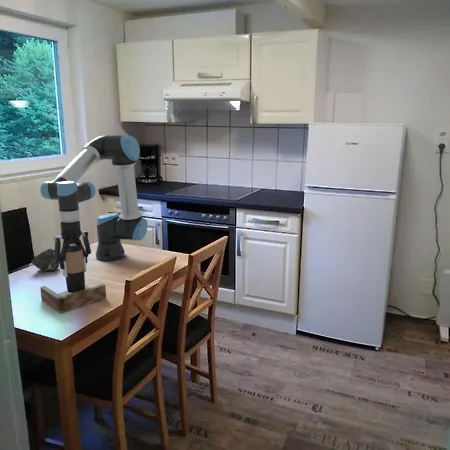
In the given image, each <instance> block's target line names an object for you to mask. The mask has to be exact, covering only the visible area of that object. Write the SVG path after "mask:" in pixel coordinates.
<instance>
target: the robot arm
mask: <svg viewBox="0 0 450 450" xmlns="http://www.w3.org/2000/svg"><path fill="white" fill-rule="evenodd" d="M140 151H141V148H140V145H139V141H137V139H136V138H135V137H134V136H133V135H122V134H121V135H120V134H119V135H117V134H116V135H115V134H114V135H108V134H106V135H105V134H104V135H101V136H98V137H96V138H94V139H93V140H91V141H89V142H88V143H86V144H85V145H84V146H83V147H82V149H81V152H80V153H79V154H78V155H77V156H76V157H75V158H74V159H73V160H71V162H70V163H69V164H68V165H67V166H66V167H65V168H64V169H63V170H62V171H61V172H60V173H59V174H58V175H57V176H56V177H55V178H54V179H52V180H51V181H50V180H49V181H48V180H47V181H43V182H42V184H41V185H40V195H41V196H42V198H44V199H45V200H53V201H55V200H57V201H58V202H57V203H58V215H59V221H60V222H59V223H60V235H57V236H55V235H54V237H53V240H54V250H55V254H54V260H55V261H57V262H59V263H60V264H59V269H60V270H62V277H65V278H66V277H68V275H67V264H66V261H64V260H65V257H66V248H63V246H67V247H68V246H69V245H70V243H73V242H76V244H77V245H80V244H81V243H82V242H83V244H82V251H83V262H84V273H86V272H87V264H88V257H89V255H91V254H92V249H91V246H90V245H91V244H90V241H89V232H88V231H86V230H81V219H80V218H81V217H80V207H79V204H81V203H82V202H86V201H90V200H91V199H93V198H94V197H95V195H96V193H97V192H96V191H97V190H96V187H95V185H94V184H93V183H92V182H90V181H83V182H78V181H79V180H80V179H81V178H82V177H83V176H84V175H85V173H87V172H88V171H89V169H90V168H92V167H93V165H95V164H98V163H100V162H101V161H102V160H111V164H112V166H113V167H115V170H116V180H117V186H118V187H117V188H118V195H119V202H120V204H119V205H120V211H121V213H120V214H119V212H112V213H106V214H101V215H99V216H97V218H96V233H97V247H96V252H95V259H96V260H97V261H101V262H109V261H110V262H111V261H112V262H113V261H118V260H120V259H123V258H124V257H126V254H125V253H126V252H125V249H124V246H123V244H122V241H121V240H125V241H126V240H128V241H142V240H143V239H144V238H145V236H146V234H147V232H148V231H147V230H148V220H147V219H146V218H145V217H144V218H143V213H142V212H141V211H140V210H139V202H138V195H137V194H138V193H137V186H136V177H135V167H134V166H135V165H136V164H137V161H138V159H139V158H140V154H141V152H140ZM81 237H82V240H81V239H80V238H81ZM62 240H63V241H62ZM61 242H62V246H61Z"/></svg>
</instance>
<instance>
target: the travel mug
mask: <svg viewBox="0 0 450 450" xmlns="http://www.w3.org/2000/svg"><path fill="white" fill-rule="evenodd" d="M82 245H83V243H82V242H81V244H80V245H77V244H76V242H73V243H70V245H69V246H68V247H67V246H63V245H62V246H63V248H66V257H65V260H64V261H66V264H67V275H68V277H65V284H66V289H67V290H66V291H68V292H70V293H74V292H78V291H81V290H84V289H85V285H86V278H85V275H86V274H85V272H84V262H83V251H82Z"/></svg>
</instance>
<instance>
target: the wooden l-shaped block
mask: <svg viewBox="0 0 450 450" xmlns="http://www.w3.org/2000/svg"><path fill="white" fill-rule="evenodd" d="M106 288H107V287H106V284H104V283H100V284H97V285H95V286H94V285H93V286H89V285H86V284H85V289H84V290H81V291H78V292H74V293H70V292H68V291H67V290H66V291H63V292H60V293H59V292H58V293H57V292H55V291H54V290H52V289H50V287H47V286H46V285H43V286H40V287H39V289H40V296H41V301H42V302H43V303H44V304H46V305H47V306H48V307H50V308H52V309H53V310H55V311H56V312H57V313H59V314H65V313H66V312H70V311H73V310H75V309H79V308H82V307H85V306H88V305H90V304H91V305H92V304H93V303H97V302H101V301H104V300H107V289H106Z"/></svg>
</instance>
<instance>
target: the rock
mask: <svg viewBox="0 0 450 450" xmlns="http://www.w3.org/2000/svg"><path fill="white" fill-rule="evenodd" d="M54 254H55V249H53V248H48V249H46V250H44V251H42V252H40V253H38V254H37V255H36V256H34V257H33V259H32V260H31V264H32V265H33V266H35V267H36V269H38V270H39V271H41V272H48V271H53V272H54V271H56V270H57V269H58V268H60V263H59V262H57V261H55V260H54Z"/></svg>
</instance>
